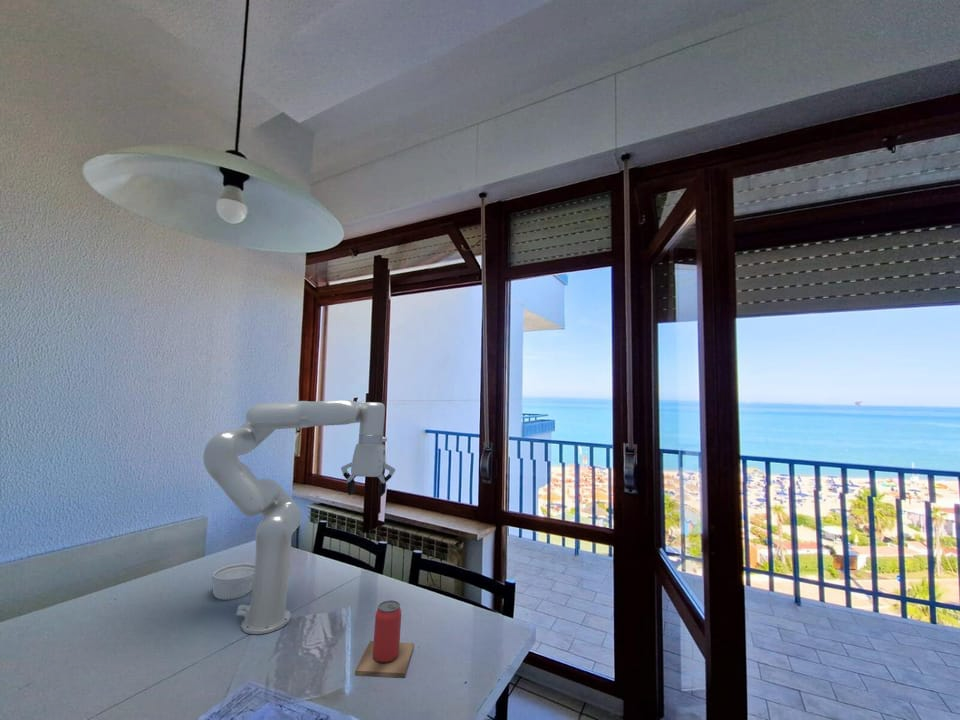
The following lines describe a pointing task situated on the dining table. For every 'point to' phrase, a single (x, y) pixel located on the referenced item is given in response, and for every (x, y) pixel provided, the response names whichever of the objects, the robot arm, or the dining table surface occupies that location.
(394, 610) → the beer can
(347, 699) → the dining table surface
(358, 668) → the coaster board
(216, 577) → the ramekin
